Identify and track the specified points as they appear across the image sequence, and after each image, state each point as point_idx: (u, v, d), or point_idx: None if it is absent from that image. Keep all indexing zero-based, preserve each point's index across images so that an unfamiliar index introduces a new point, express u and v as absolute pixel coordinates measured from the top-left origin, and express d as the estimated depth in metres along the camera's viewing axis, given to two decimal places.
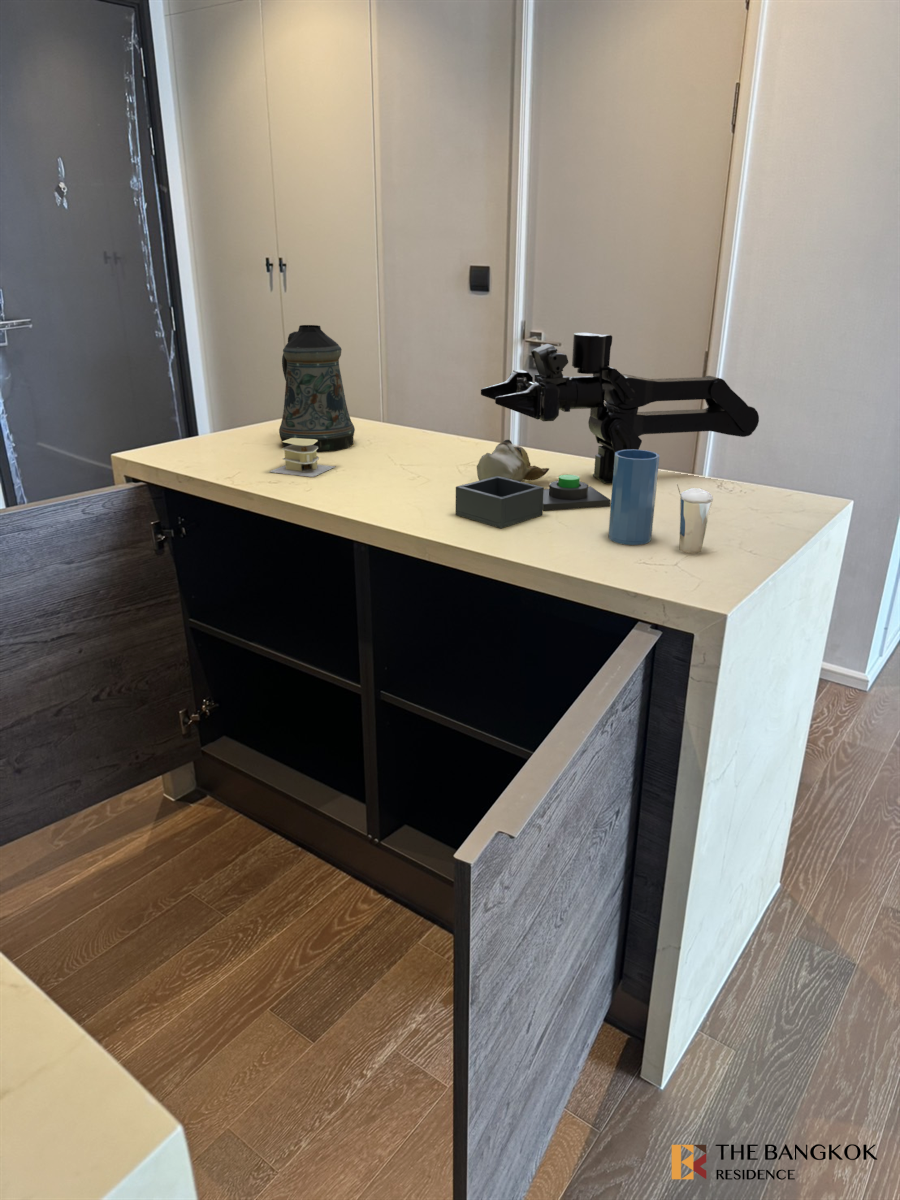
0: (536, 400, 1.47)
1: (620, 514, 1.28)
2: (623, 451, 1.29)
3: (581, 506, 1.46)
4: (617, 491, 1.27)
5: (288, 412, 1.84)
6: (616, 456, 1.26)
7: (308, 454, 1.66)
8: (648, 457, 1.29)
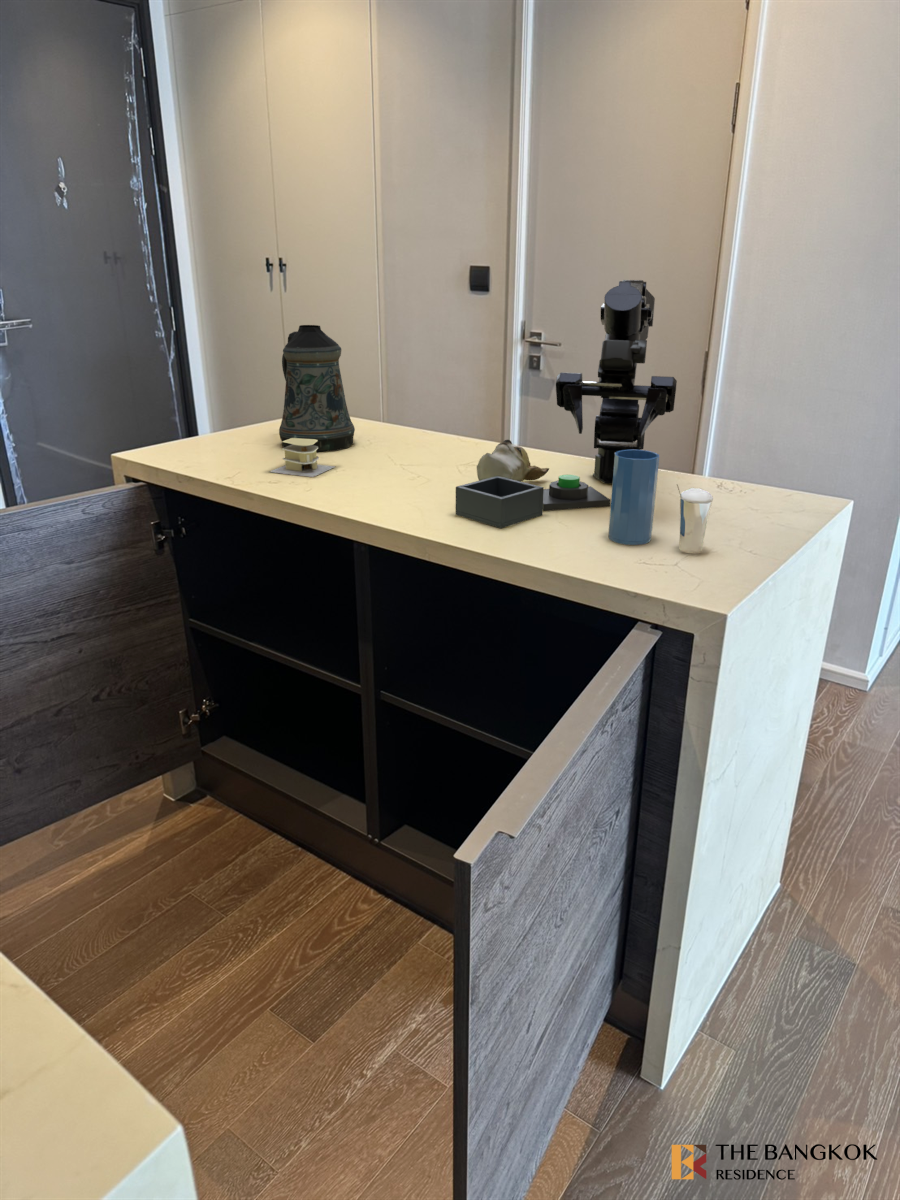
0: (661, 402, 1.35)
1: (620, 514, 1.28)
2: (623, 451, 1.29)
3: (581, 506, 1.46)
4: (617, 491, 1.27)
5: (288, 412, 1.84)
6: (616, 456, 1.26)
7: (308, 454, 1.66)
8: (648, 457, 1.29)
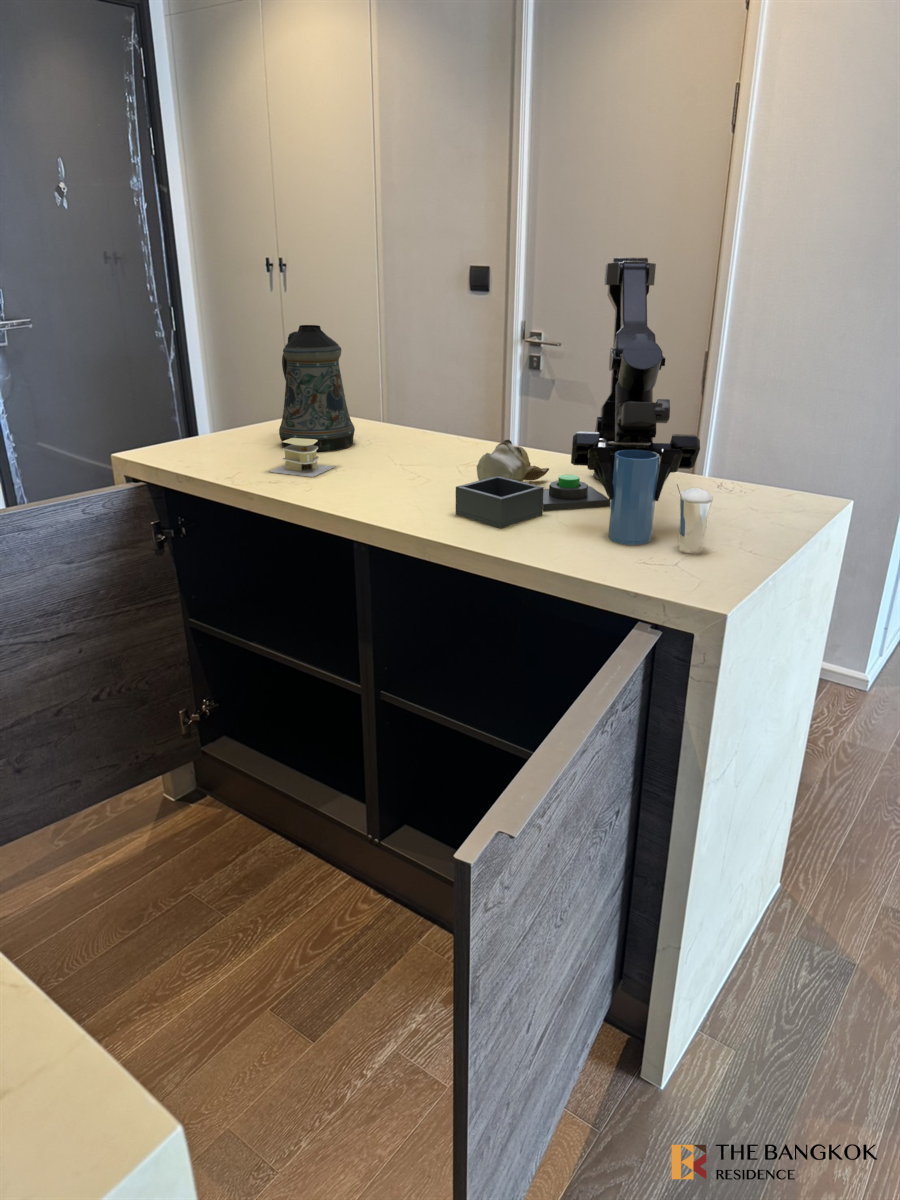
0: (675, 461, 1.29)
1: (620, 514, 1.28)
2: (623, 451, 1.29)
3: (581, 506, 1.46)
4: (617, 491, 1.27)
5: (288, 412, 1.84)
6: (616, 456, 1.26)
7: (308, 454, 1.66)
8: (648, 457, 1.29)
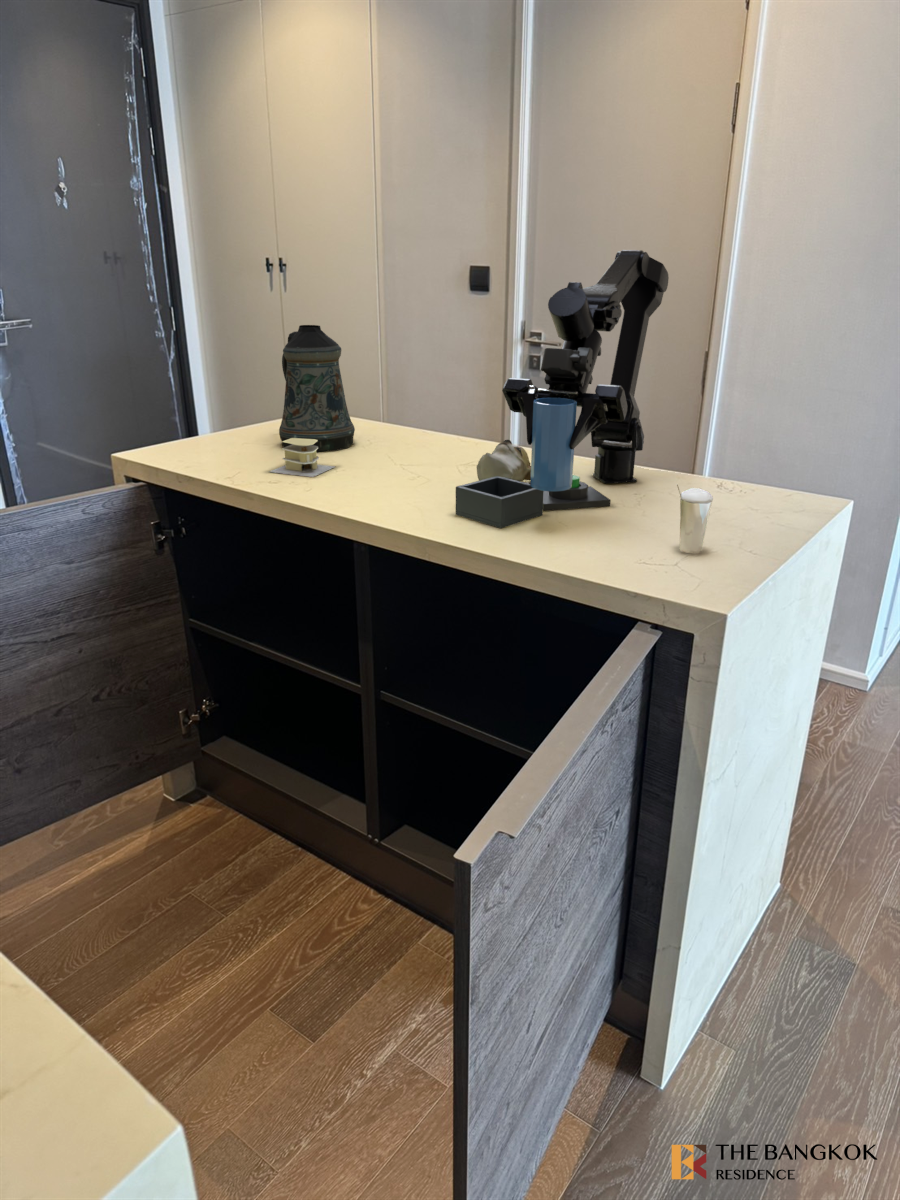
0: (599, 412, 1.29)
1: (534, 459, 1.30)
2: (548, 398, 1.31)
3: (581, 506, 1.46)
4: (533, 436, 1.30)
5: (288, 412, 1.84)
6: None
7: (308, 454, 1.66)
8: None
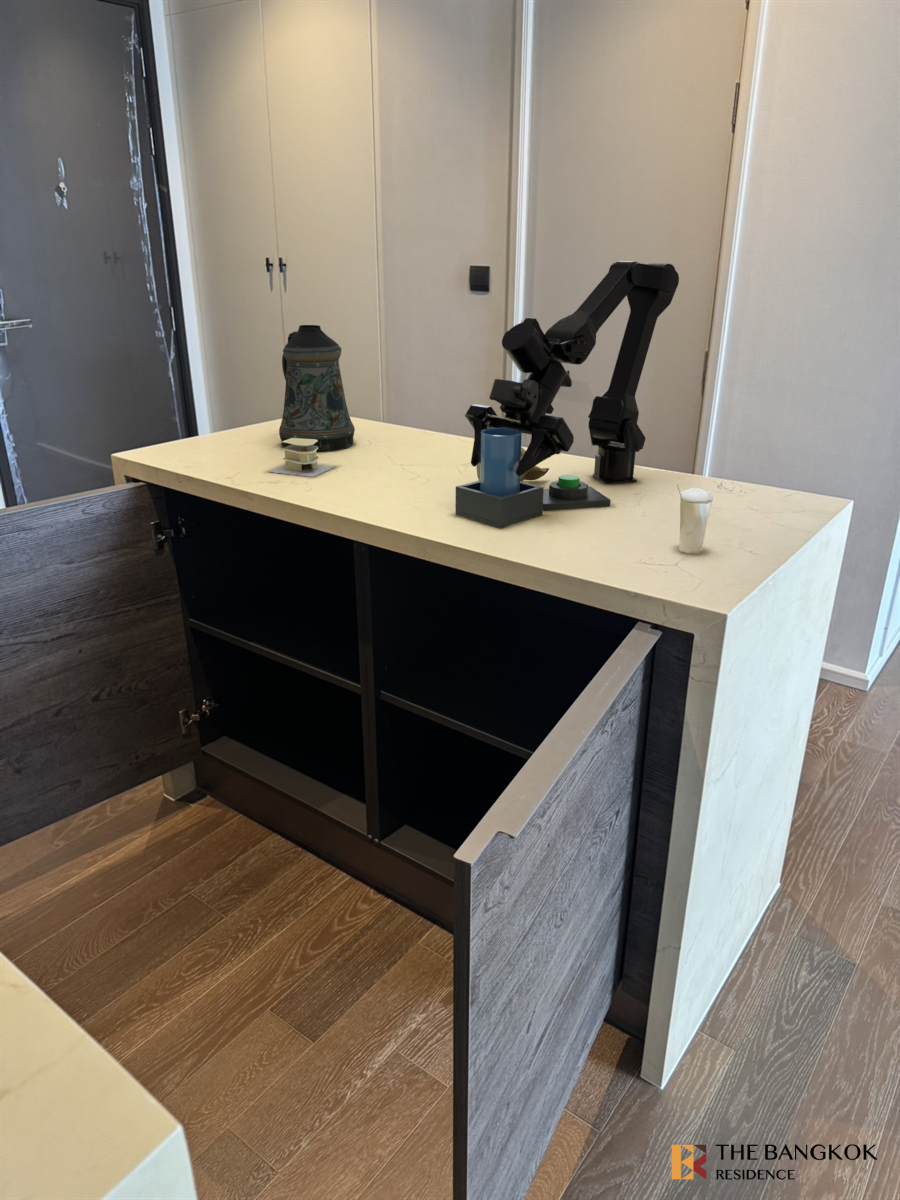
0: (549, 442, 1.35)
1: (480, 485, 1.40)
2: (500, 429, 1.40)
3: (581, 506, 1.46)
4: (480, 463, 1.39)
5: (288, 412, 1.84)
6: (482, 431, 1.38)
7: (308, 454, 1.66)
8: None
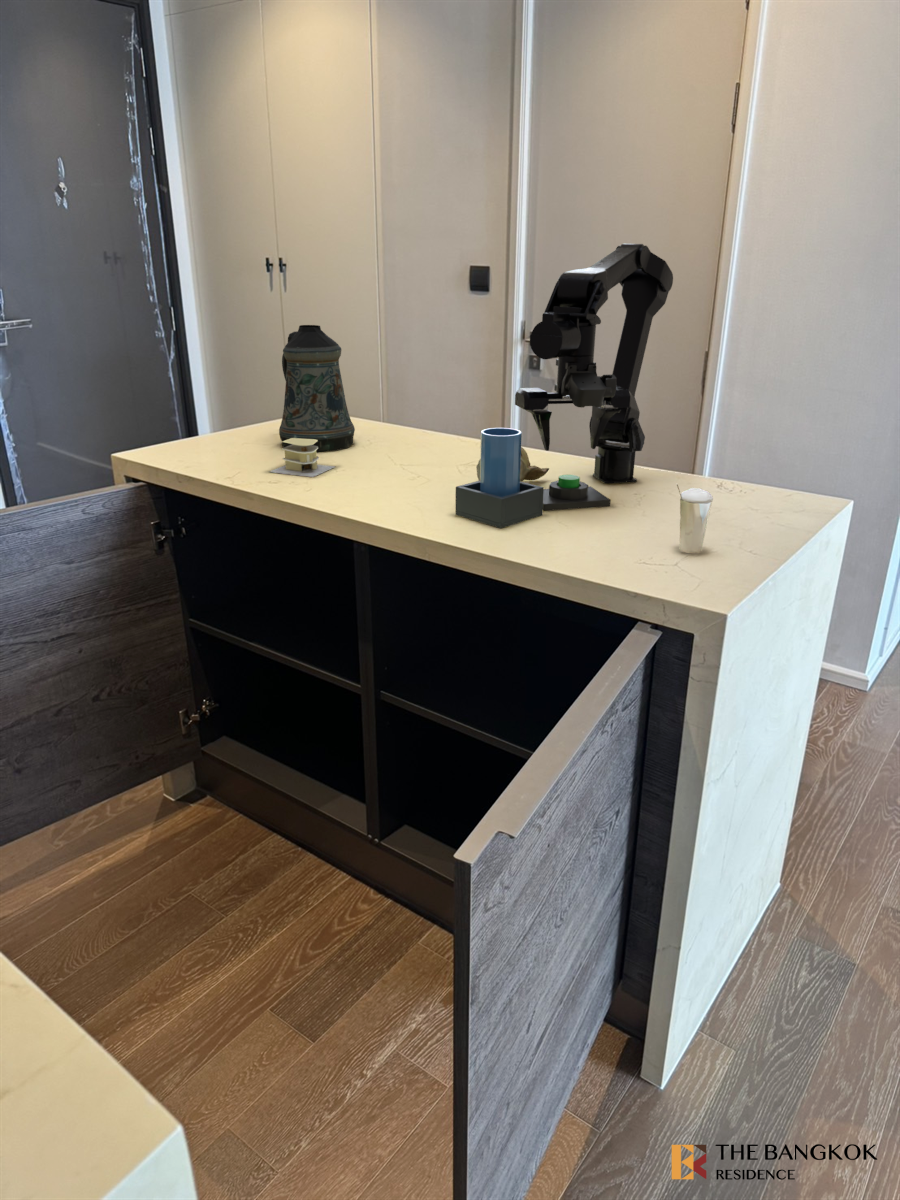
0: None
1: (480, 485, 1.40)
2: (500, 429, 1.40)
3: (581, 506, 1.46)
4: (480, 463, 1.39)
5: (288, 412, 1.84)
6: (482, 431, 1.38)
7: (308, 454, 1.66)
8: None
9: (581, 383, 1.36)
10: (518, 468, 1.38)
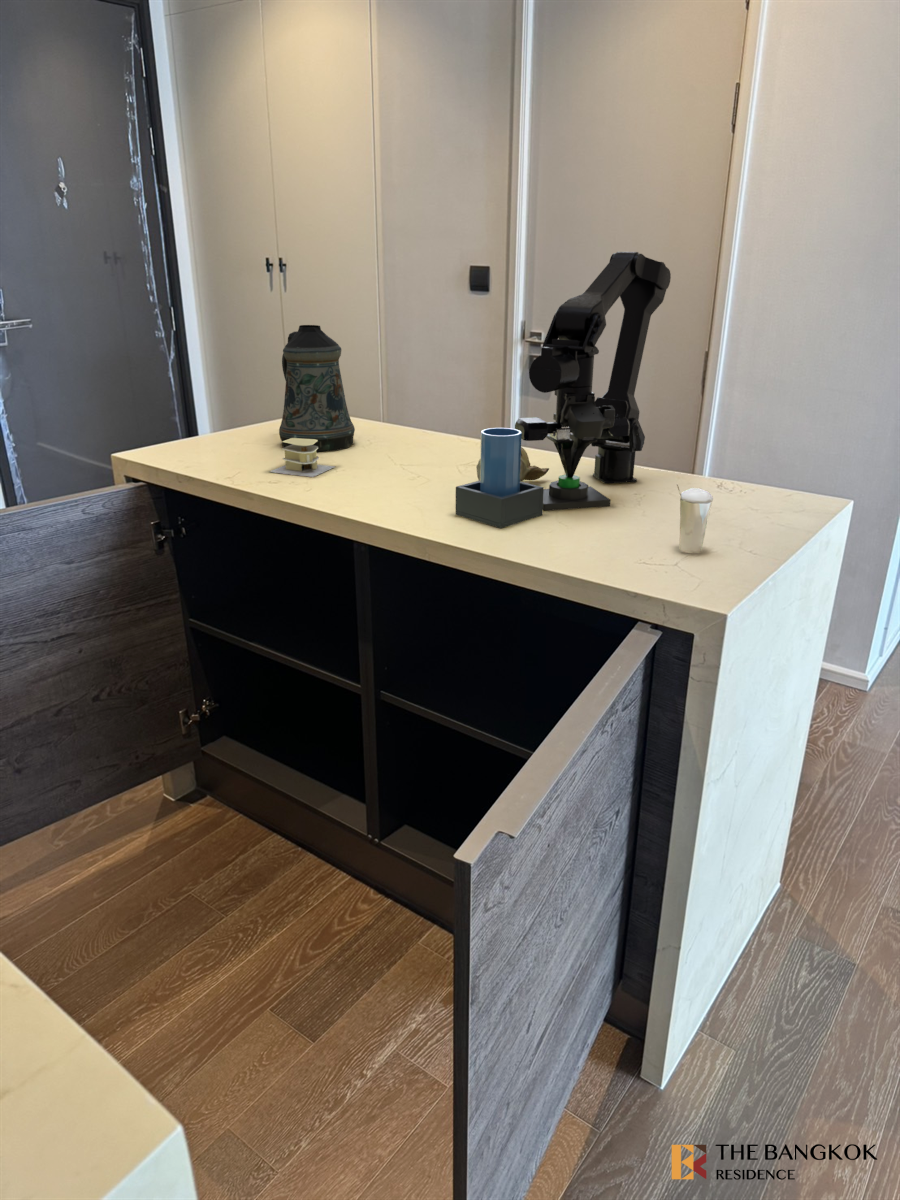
0: None
1: (480, 485, 1.40)
2: (500, 429, 1.40)
3: (581, 506, 1.46)
4: (480, 463, 1.39)
5: (288, 412, 1.84)
6: (482, 431, 1.38)
7: (308, 454, 1.66)
8: None
9: (580, 415, 1.38)
10: (518, 468, 1.38)
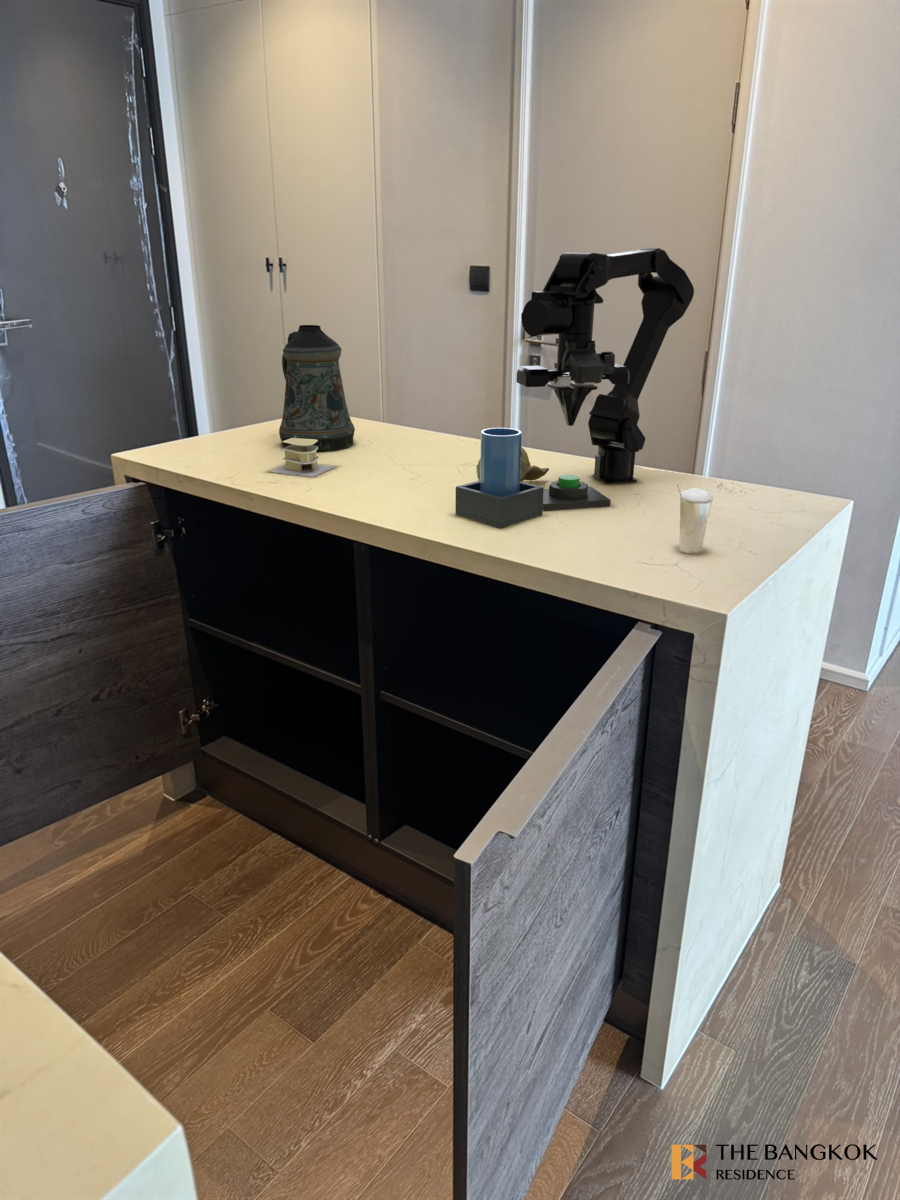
0: None
1: (480, 485, 1.40)
2: (500, 429, 1.40)
3: (581, 506, 1.46)
4: (480, 463, 1.39)
5: (288, 412, 1.84)
6: (482, 431, 1.38)
7: (308, 454, 1.66)
8: None
9: (581, 360, 1.40)
10: (518, 468, 1.38)
